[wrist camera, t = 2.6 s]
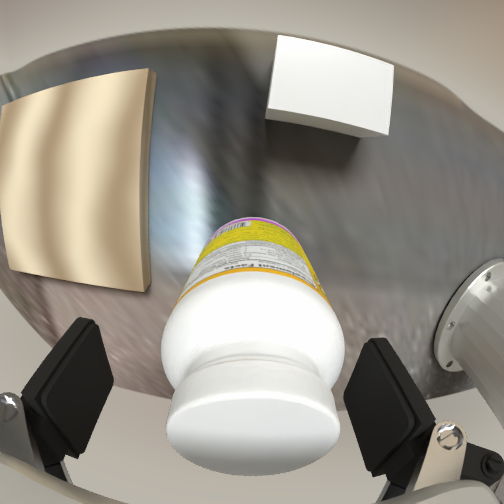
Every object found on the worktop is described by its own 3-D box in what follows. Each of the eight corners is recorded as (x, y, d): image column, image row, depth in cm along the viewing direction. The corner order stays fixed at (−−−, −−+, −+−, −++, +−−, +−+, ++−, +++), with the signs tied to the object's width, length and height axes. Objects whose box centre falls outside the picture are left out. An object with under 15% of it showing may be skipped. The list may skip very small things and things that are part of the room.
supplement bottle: (282, 319, 19) (305, 491, 7) (192, 292, 19) (128, 460, 7) (320, 233, 17) (424, 382, 5) (219, 199, 17) (133, 318, 4)
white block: (366, 81, 14) (393, 65, 10) (359, 138, 15) (387, 135, 11) (273, 60, 14) (278, 35, 10) (264, 119, 15) (267, 108, 11)
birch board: (156, 74, 14) (148, 68, 12) (151, 282, 18) (143, 292, 17) (13, 106, 13) (2, 105, 12) (19, 262, 18) (10, 269, 17)
